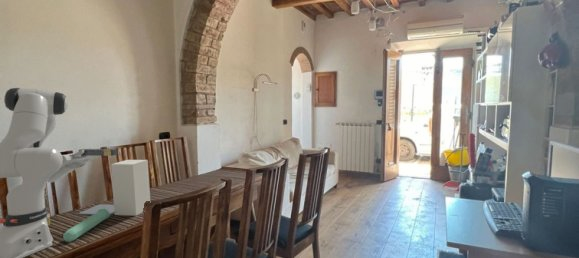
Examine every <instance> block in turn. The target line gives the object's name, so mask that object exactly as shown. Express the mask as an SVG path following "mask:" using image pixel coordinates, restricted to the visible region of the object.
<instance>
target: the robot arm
mask: <svg viewBox="0 0 579 258" xmlns="http://www.w3.org/2000/svg"><path fill="white" fill-rule="evenodd" d="M3 103H4V105H5V108H6V109H7V110H9V111H11V112H12V116H11V121H10V124H9V128H8V131H7V134H6V135H5V136H4V138H3V139H2V140H1V141H0V179H4V178H5V179H7V178H17V177H18V178H19V177H22V182H21V183H20V184H19V185H17V186H16V187H14V188H12V189H10V190H8V192H7V195H6V197H5V198H6V207H7V214H6V215H5V217H0V224H3V226H2V227H1V228H0V258H25V257H29V256H30V255H32V254H35V253H37V252H40V251H42V250H45V249H47V248H49V247H51V246H53V241H54V238H53V236H52V234H51V231H50V228H49V226H48V224H47V219H46V216H47V209H46V207H45V200H44V190H45V185H46V183H47V184H48V183H54V182H57V181H59V180H61V179H63V178H64V177H66V176H67V175H68V174H69V173H71V172H73V171H75V170H76V169H78V168H80V167H84V166H86V165H87V163H88V162H89V161H91V160H92V159H93V158H95V157H96V156H80V155H82V154H84V153H85V150H81V149H80V150H81V151H80V152H79V151H76V152H73V153H68V154H63V155H62V153H61V151H59V150H58V149H57V148H54V147H43V146H42V145H43V143H44V142H45V140H46V139H47V138H48V136H49V135H51V133H52V132H53V131H54V130H55V128H56V127H55V126H56V123H57V115H62V114H64V113H66V111H67V109H68V106H69V101H68V98H67V95H65V94H64V93H61V92H57V91H49V90H43V89H37V88H20V87H12V88H9V89H8V90H6V92H5V94H4V97H3Z"/></svg>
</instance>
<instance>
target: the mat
mask: <svg viewBox="0 0 579 258" xmlns="http://www.w3.org/2000/svg"><path fill="white" fill-rule="evenodd" d="M100 209H106V210H107V211H108V212H109V217H110V216H112V215H115V213H114V204H102V203H101V204H100V203H99V204H96V205H95V206H92V207H90V208H87V209H85V210H82V211H80V212H78V213H77V215H81V216H83V215H84V216H92V215H93V214H95V213H97V212H98V211H99V210H100Z"/></svg>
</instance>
